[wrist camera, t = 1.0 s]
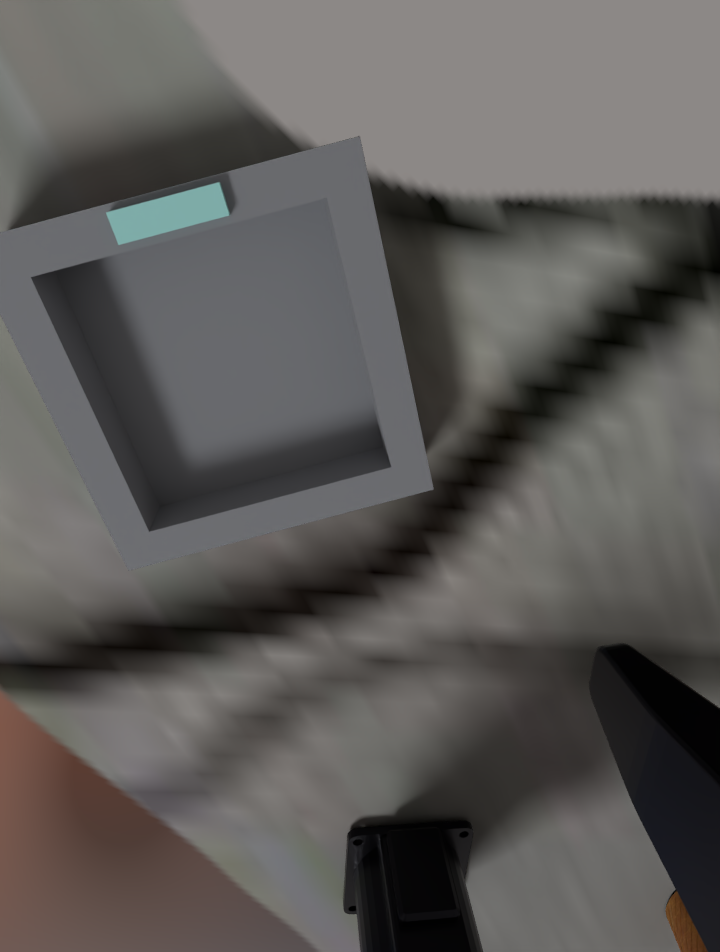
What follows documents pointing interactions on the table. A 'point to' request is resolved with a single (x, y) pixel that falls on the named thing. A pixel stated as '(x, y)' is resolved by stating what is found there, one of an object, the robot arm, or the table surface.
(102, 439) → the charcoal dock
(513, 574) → the table surface
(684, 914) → the disposable coffee cup
